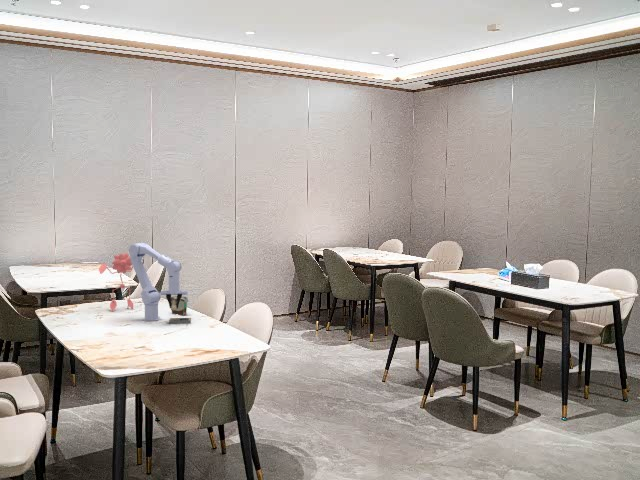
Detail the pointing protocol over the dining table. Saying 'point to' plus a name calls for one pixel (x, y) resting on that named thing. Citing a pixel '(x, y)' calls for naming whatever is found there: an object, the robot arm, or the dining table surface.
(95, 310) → the dining table surface
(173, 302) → the peg
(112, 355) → the dining table surface
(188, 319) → the plate
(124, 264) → the figurine
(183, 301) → the food container
